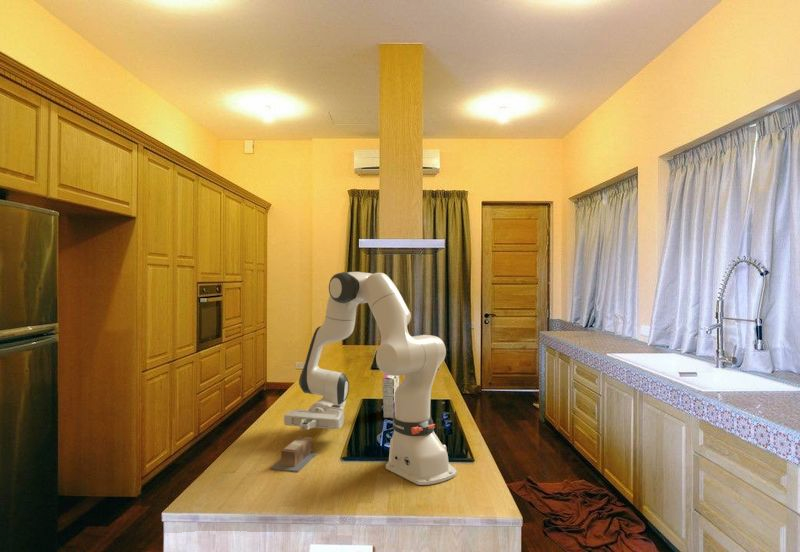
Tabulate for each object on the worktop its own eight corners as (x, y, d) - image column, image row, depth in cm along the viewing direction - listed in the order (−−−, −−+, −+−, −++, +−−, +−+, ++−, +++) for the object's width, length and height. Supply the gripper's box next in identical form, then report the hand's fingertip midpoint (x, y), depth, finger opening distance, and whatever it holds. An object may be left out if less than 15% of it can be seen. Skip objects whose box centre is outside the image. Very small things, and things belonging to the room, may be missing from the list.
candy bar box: (388, 409, 191) (388, 371, 191) (399, 410, 190) (399, 372, 190) (382, 418, 180) (382, 377, 180) (394, 418, 179) (394, 378, 179)
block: (311, 451, 146) (294, 466, 134) (299, 449, 147) (281, 465, 135) (311, 437, 146) (294, 451, 134) (299, 435, 147) (281, 449, 135)
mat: (298, 472, 132) (298, 470, 132) (270, 469, 134) (270, 467, 134) (316, 454, 144) (316, 453, 144) (291, 452, 146) (291, 450, 146)
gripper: (294, 403, 161) (274, 415, 148) (347, 407, 156) (332, 419, 143) (294, 420, 161) (274, 434, 148) (347, 424, 157) (332, 439, 143)
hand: (303, 427), depth 145 cm, fingers closed
